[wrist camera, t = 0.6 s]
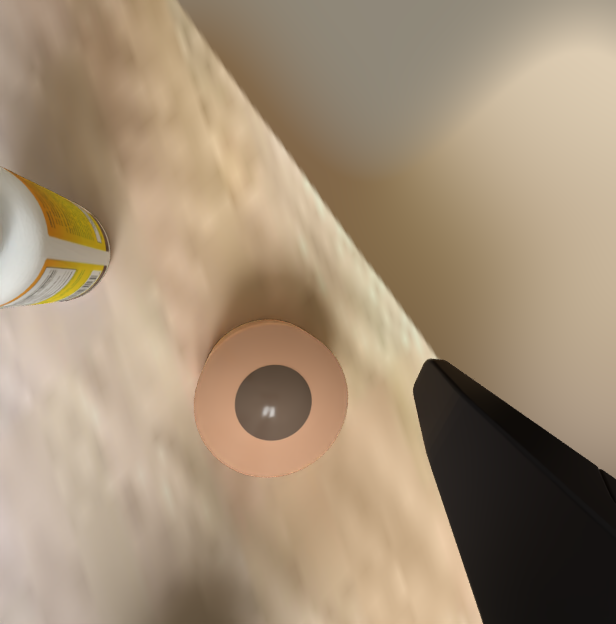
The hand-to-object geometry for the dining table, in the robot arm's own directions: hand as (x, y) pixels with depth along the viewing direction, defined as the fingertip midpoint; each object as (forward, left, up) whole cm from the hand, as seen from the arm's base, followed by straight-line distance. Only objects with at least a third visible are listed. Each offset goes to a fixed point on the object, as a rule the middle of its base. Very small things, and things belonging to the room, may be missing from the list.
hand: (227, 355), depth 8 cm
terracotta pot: (0, -5, -15) cm, 16 cm away
